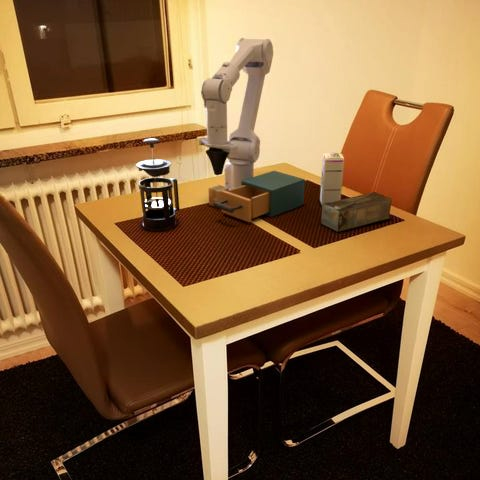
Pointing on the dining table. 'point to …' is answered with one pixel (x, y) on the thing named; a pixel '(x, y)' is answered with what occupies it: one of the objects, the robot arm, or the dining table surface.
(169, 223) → the french press
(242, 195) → the drawer
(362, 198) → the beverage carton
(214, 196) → the block
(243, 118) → the robot arm
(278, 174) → the cabinet
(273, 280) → the dining table surface
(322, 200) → the syrup box
